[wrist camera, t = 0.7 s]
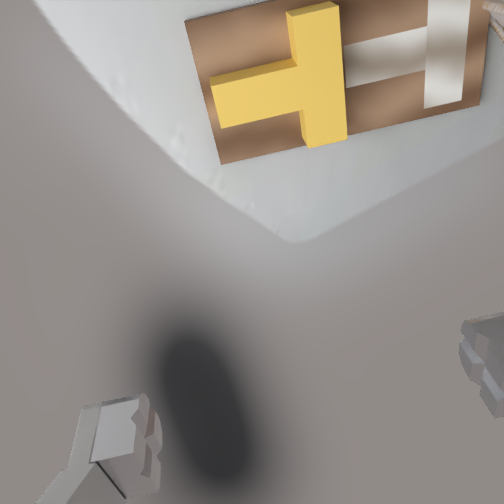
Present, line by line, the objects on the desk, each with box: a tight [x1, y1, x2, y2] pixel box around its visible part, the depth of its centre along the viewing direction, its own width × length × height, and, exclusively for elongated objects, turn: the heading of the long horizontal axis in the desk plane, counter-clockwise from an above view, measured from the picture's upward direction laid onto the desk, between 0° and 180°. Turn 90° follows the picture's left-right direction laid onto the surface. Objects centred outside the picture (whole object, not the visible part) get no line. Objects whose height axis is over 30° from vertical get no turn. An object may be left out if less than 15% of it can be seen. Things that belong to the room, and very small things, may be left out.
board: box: [185, 0, 490, 165], centre depth 43 cm, size 14×28×1 cm, turn 101°
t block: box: [210, 1, 348, 148], centre depth 42 cm, size 12×12×3 cm
